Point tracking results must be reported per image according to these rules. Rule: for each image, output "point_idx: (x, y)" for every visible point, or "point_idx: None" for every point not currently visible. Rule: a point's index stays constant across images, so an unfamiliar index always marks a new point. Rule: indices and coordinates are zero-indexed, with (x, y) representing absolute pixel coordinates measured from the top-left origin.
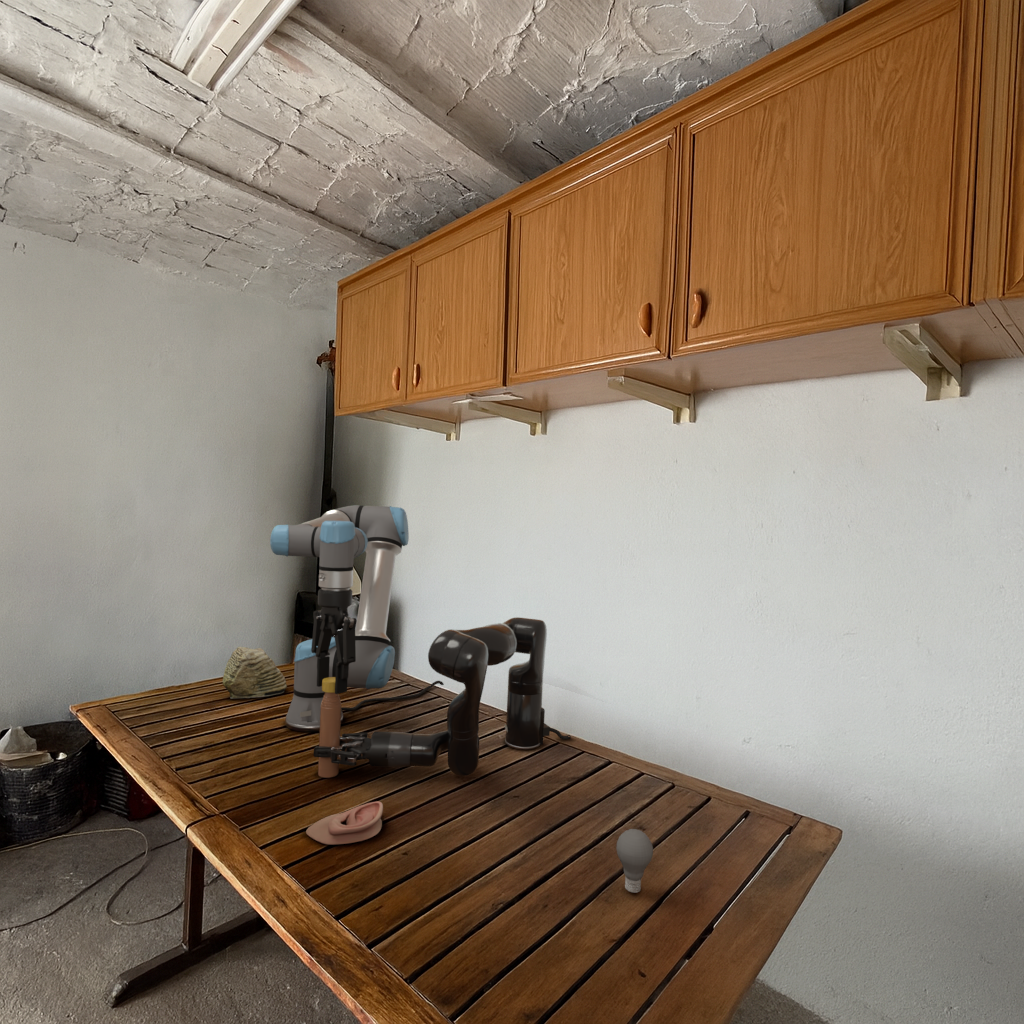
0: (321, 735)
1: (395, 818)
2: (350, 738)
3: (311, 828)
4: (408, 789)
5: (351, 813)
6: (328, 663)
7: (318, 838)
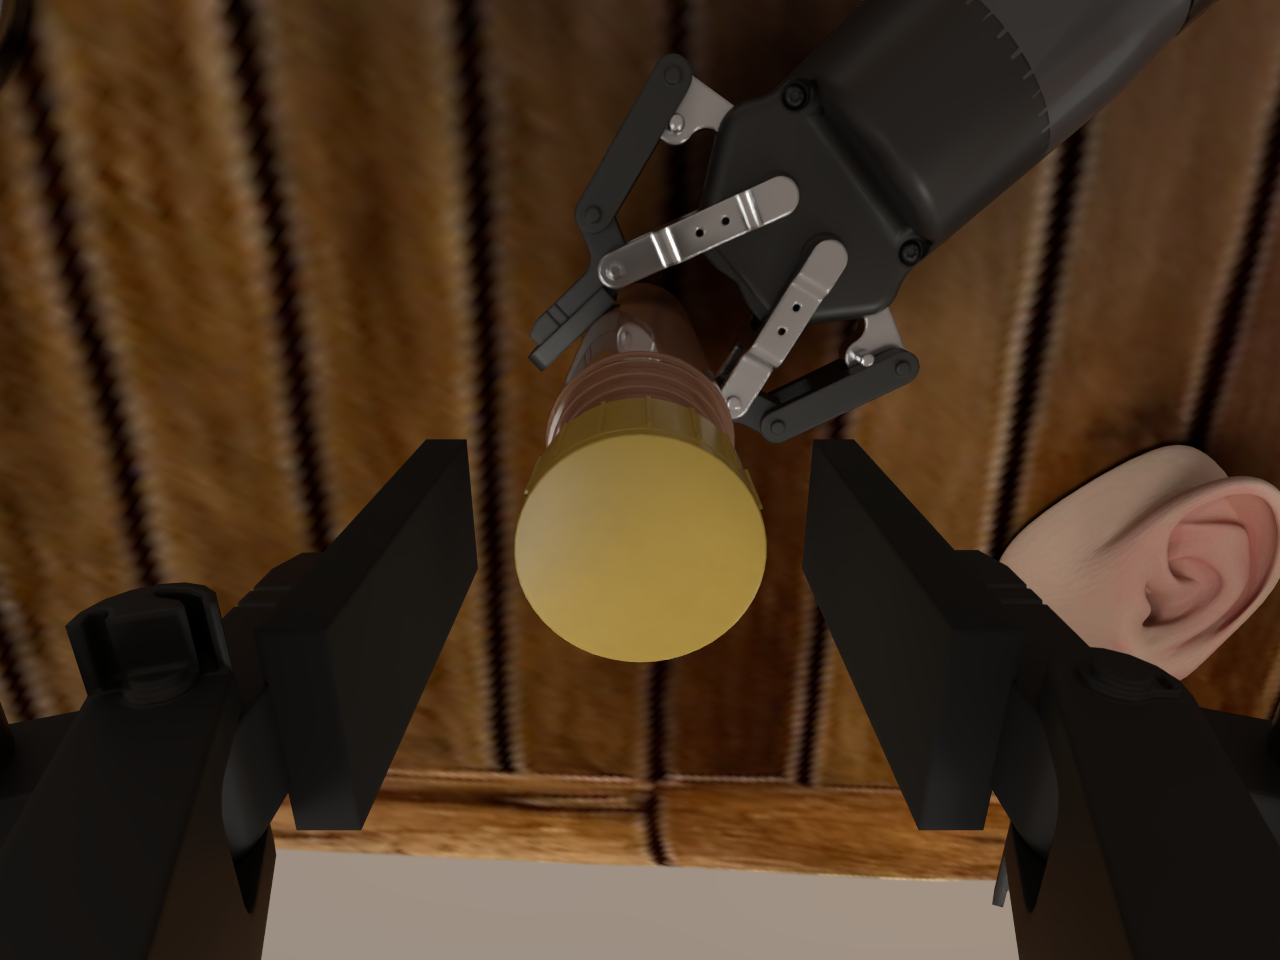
0: None
1: (1223, 383)
2: (709, 249)
3: None
4: (1101, 141)
5: (1155, 580)
6: (375, 579)
7: None
